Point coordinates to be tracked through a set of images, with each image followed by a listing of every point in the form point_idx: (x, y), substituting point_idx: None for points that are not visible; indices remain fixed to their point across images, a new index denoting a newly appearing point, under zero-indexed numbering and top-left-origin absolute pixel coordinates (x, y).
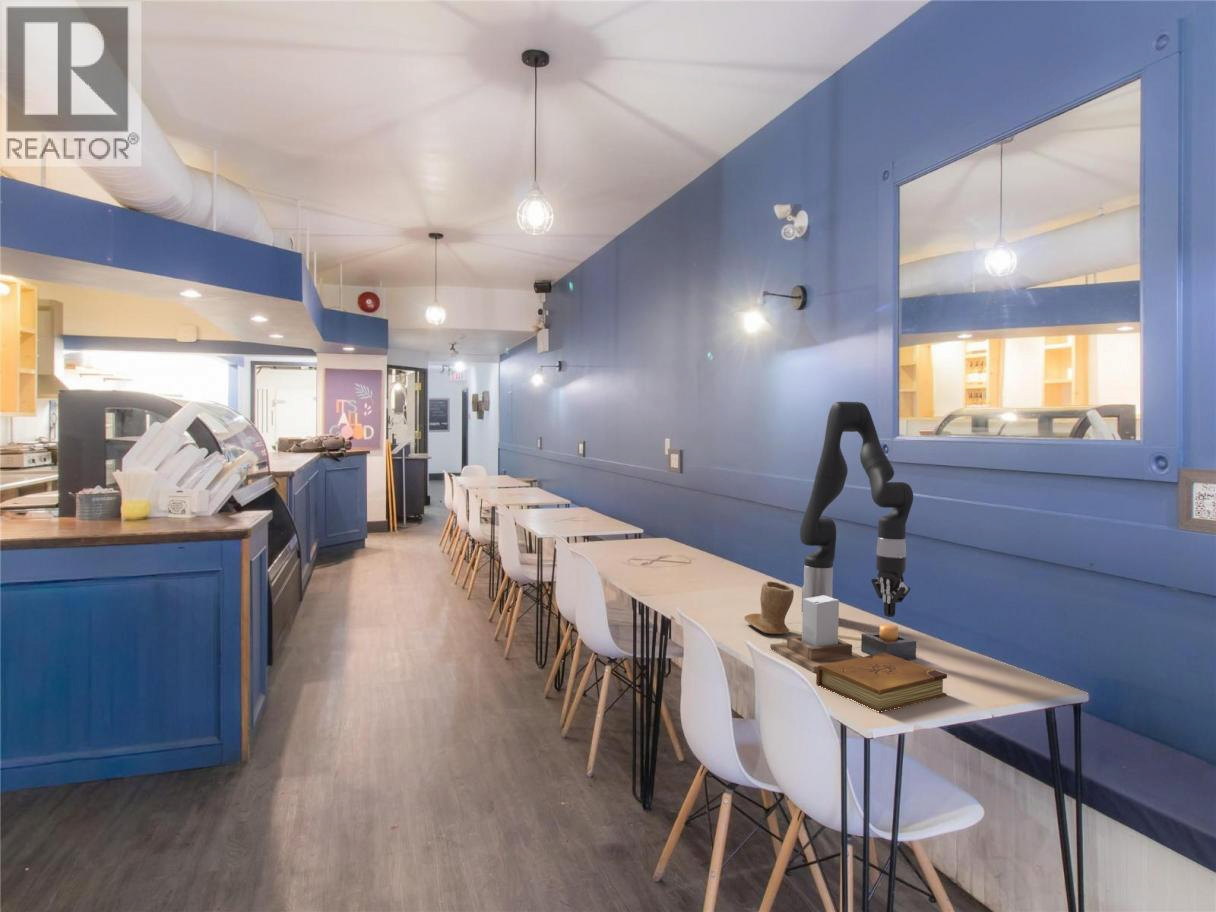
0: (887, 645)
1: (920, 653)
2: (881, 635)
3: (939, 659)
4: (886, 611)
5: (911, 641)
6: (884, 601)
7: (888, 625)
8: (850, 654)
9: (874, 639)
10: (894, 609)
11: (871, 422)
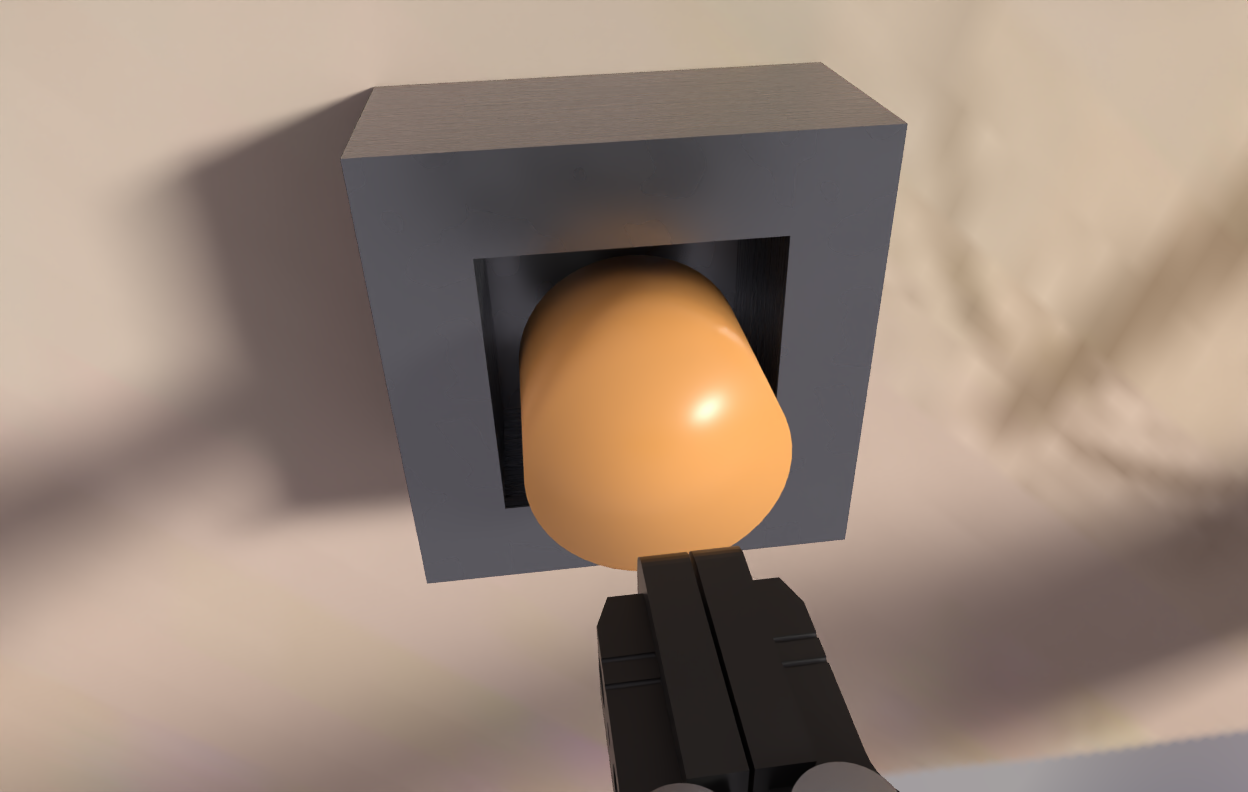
0: (344, 163)
1: (579, 574)
2: (645, 293)
3: (401, 618)
4: (704, 611)
5: (418, 530)
6: (827, 784)
7: (717, 500)
8: None
9: (621, 141)
10: (610, 751)
11: None
